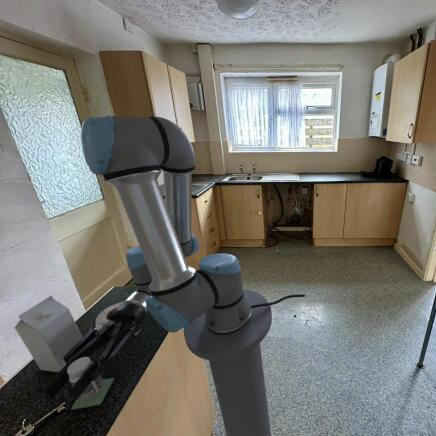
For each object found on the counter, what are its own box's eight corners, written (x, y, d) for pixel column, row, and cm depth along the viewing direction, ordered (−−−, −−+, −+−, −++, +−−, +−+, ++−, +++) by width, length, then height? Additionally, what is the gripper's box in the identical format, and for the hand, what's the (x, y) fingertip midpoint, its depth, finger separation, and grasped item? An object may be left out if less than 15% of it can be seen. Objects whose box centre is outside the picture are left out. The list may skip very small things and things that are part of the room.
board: (149, 301, 86) (148, 298, 85) (129, 336, 72) (127, 333, 71) (108, 307, 84) (107, 303, 84) (79, 344, 70) (78, 340, 69)
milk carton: (40, 370, 62) (6, 314, 55) (67, 347, 69) (40, 294, 62) (63, 373, 61) (31, 317, 54) (89, 349, 68) (63, 296, 61)
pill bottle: (95, 376, 59) (83, 352, 56) (108, 382, 57) (97, 357, 54) (73, 396, 55) (59, 371, 51) (88, 402, 53) (73, 377, 50)
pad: (114, 379, 60) (113, 377, 59) (100, 404, 54) (99, 403, 54) (88, 383, 59) (87, 382, 59) (71, 410, 53) (70, 408, 53)
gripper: (164, 320, 71) (108, 406, 50) (107, 321, 72) (26, 407, 50) (158, 301, 68) (96, 383, 47) (98, 302, 69) (9, 383, 47)
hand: (60, 395), depth 49 cm, fingers closed on pill bottle, 5 cm apart
